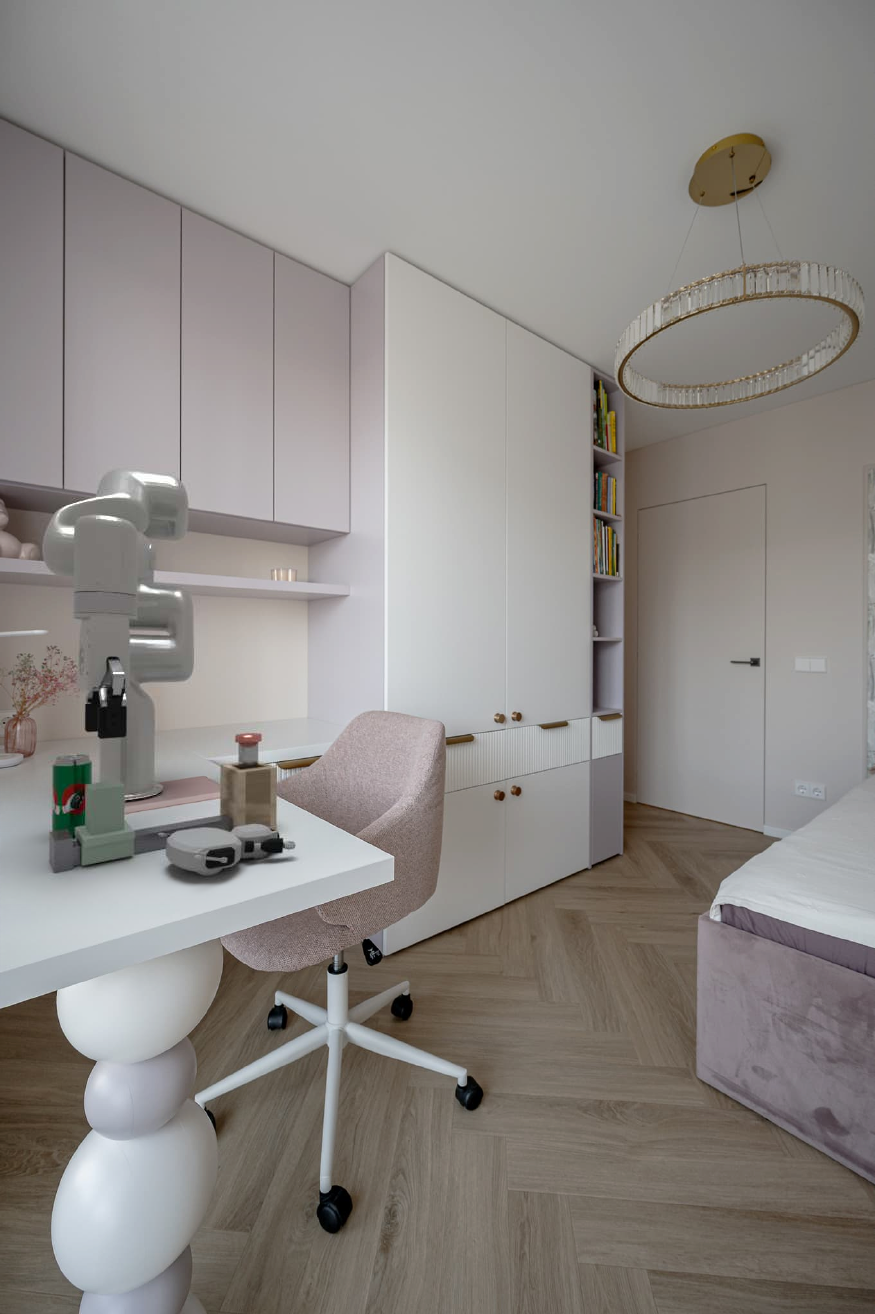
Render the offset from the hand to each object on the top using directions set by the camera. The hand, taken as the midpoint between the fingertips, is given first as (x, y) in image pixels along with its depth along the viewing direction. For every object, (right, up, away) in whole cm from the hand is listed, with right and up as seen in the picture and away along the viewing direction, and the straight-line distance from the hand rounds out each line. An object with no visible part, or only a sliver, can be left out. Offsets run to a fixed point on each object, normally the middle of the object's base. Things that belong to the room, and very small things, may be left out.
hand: (104, 734), depth 76 cm
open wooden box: (+15, -17, +13) cm, 26 cm away
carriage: (0, -17, 0) cm, 17 cm away
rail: (+5, -17, +5) cm, 18 cm away
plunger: (+15, -8, +13) cm, 22 cm away
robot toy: (+17, -17, -1) cm, 24 cm away
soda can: (-11, -17, +10) cm, 22 cm away
